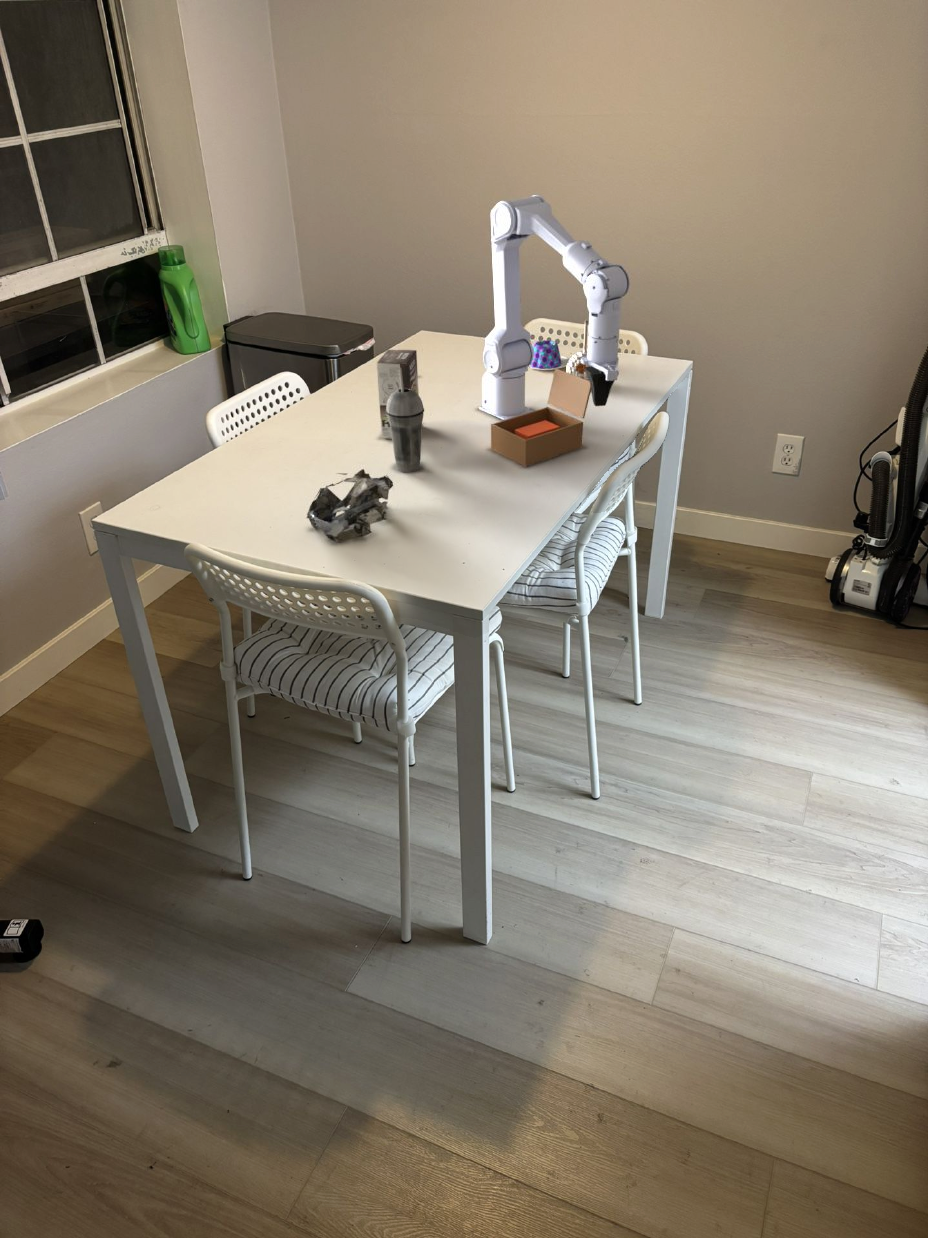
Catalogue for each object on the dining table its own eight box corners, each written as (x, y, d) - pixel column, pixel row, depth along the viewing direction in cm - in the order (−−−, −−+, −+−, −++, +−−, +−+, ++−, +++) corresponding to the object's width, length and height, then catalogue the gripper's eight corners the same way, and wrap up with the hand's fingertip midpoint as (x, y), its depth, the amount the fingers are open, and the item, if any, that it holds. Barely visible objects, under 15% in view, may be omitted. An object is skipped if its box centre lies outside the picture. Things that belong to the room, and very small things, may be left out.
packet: (514, 448, 191) (514, 429, 189) (544, 438, 195) (545, 419, 192) (528, 455, 188) (528, 436, 186) (559, 445, 192) (559, 426, 189)
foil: (298, 497, 167) (365, 447, 165) (336, 541, 173) (402, 493, 170) (298, 525, 157) (370, 472, 155) (339, 570, 163) (410, 520, 160)
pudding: (576, 370, 230) (577, 348, 228) (528, 374, 228) (528, 352, 226) (561, 354, 240) (562, 334, 237) (515, 359, 238) (515, 338, 235)
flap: (547, 403, 195) (548, 403, 196) (582, 418, 188) (584, 418, 188) (555, 368, 192) (556, 368, 193) (591, 381, 185) (593, 382, 185)
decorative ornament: (572, 392, 217) (575, 326, 209) (562, 381, 224) (564, 317, 216) (604, 389, 219) (608, 323, 211) (593, 378, 225) (597, 314, 217)
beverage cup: (432, 461, 187) (428, 361, 176) (418, 476, 181) (413, 374, 170) (398, 457, 189) (391, 358, 178) (383, 472, 184) (376, 370, 172)
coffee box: (411, 440, 196) (406, 363, 187) (380, 438, 197) (375, 362, 189) (421, 423, 204) (417, 349, 195) (392, 422, 205) (387, 347, 196)
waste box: (546, 431, 199) (547, 406, 196) (582, 447, 191) (583, 421, 188) (491, 449, 192) (490, 424, 189) (525, 466, 184) (525, 440, 181)
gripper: (573, 324, 183) (570, 393, 191) (592, 348, 171) (589, 419, 179) (609, 322, 184) (604, 390, 191) (630, 345, 172) (625, 417, 179)
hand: (599, 404), depth 185 cm, fingers closed
